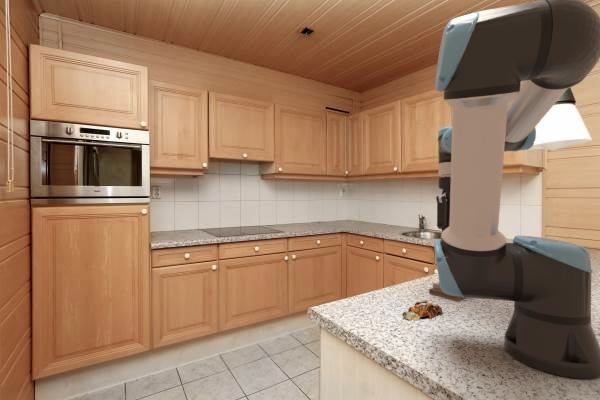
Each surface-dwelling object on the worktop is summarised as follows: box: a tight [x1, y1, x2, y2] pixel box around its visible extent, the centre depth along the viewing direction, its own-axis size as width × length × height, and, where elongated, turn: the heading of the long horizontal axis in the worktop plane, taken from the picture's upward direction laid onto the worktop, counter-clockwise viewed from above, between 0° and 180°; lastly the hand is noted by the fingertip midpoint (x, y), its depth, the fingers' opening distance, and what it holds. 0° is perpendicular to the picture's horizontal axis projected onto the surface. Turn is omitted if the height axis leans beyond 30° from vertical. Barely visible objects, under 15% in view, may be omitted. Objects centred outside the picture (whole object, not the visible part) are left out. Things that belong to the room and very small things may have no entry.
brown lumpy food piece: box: [402, 299, 444, 322], centre depth 82 cm, size 7×12×4 cm, turn 127°
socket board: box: [428, 281, 468, 303], centre depth 98 cm, size 12×9×3 cm
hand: (452, 248), depth 98 cm, fingers closed on supplement bottle, 5 cm apart
